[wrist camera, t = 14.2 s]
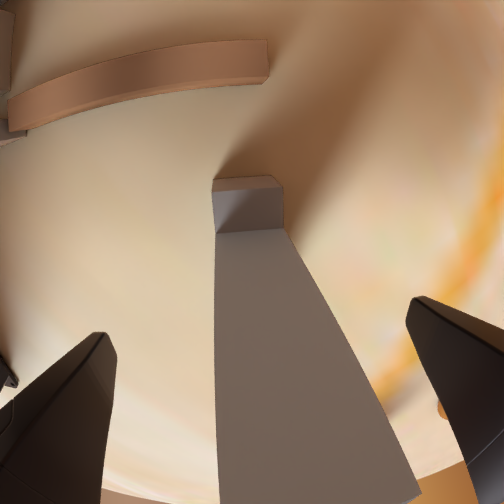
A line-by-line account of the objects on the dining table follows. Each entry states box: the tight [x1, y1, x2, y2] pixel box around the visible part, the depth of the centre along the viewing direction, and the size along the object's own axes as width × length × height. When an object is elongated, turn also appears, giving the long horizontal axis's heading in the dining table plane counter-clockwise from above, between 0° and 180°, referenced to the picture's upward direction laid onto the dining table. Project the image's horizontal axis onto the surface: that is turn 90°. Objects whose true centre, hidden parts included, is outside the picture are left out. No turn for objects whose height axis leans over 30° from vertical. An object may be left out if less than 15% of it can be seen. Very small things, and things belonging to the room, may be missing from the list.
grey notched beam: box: [212, 175, 422, 504], centre depth 8 cm, size 2×6×12 cm, turn 2°
